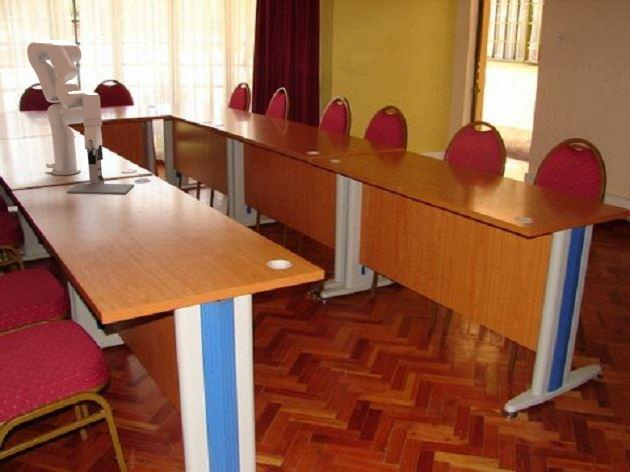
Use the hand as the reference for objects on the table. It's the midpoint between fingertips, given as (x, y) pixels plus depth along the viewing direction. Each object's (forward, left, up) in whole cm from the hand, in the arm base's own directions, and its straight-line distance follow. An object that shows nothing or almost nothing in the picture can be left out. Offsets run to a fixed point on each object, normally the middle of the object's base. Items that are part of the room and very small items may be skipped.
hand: (95, 161), depth 291 cm
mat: (+5, -11, -10) cm, 15 cm away
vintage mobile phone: (0, 0, -10) cm, 10 cm away
